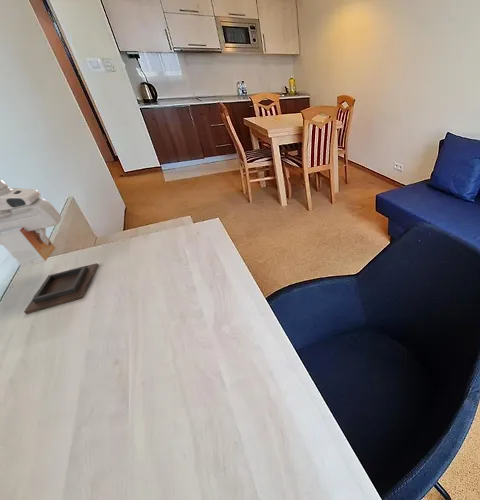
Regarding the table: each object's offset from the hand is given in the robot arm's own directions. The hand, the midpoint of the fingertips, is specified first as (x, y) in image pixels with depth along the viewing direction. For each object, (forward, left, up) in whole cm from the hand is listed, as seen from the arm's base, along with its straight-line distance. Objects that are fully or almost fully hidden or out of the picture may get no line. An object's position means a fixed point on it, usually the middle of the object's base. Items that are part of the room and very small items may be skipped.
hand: (30, 245), depth 86 cm
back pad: (0, 0, -16) cm, 16 cm away
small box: (0, 0, -4) cm, 4 cm away
